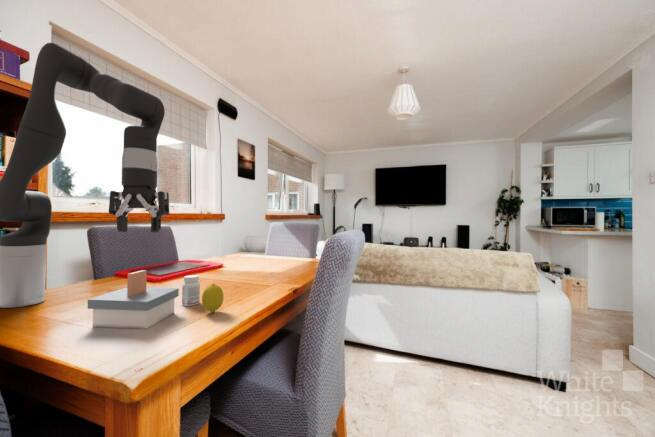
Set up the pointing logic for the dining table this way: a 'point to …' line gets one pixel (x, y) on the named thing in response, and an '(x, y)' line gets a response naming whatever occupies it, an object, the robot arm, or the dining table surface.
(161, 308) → the box
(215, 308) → the lemon
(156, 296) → the lid
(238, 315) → the dining table surface
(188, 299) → the pill bottle
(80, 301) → the dining table surface
